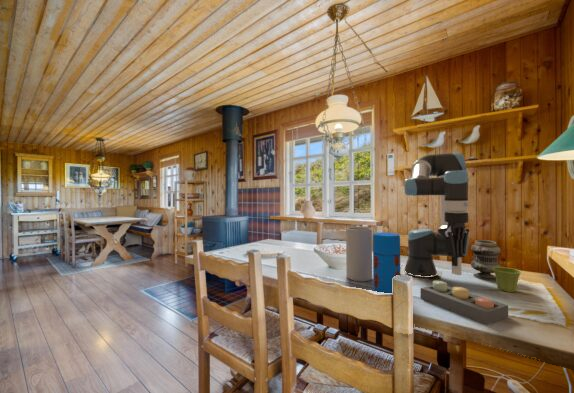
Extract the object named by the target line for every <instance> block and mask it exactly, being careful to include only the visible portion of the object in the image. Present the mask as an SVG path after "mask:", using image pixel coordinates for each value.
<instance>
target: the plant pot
mask: <svg viewBox="0 0 574 393" xmlns="http://www.w3.org/2000/svg"><path fill="white" fill-rule="evenodd" d="M493 270H494V273H493V274H495V275H494V276H496V280H495V282H496V285H497V287H496V288H497V289H498V290H500V291H503V292H507V293H515V292H517V286H518V281H519V277H520V274H522V271H521V270H518V269H516V268H511V267H507V266H506V267H504V266H501V267H494V268H493Z"/></svg>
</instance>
